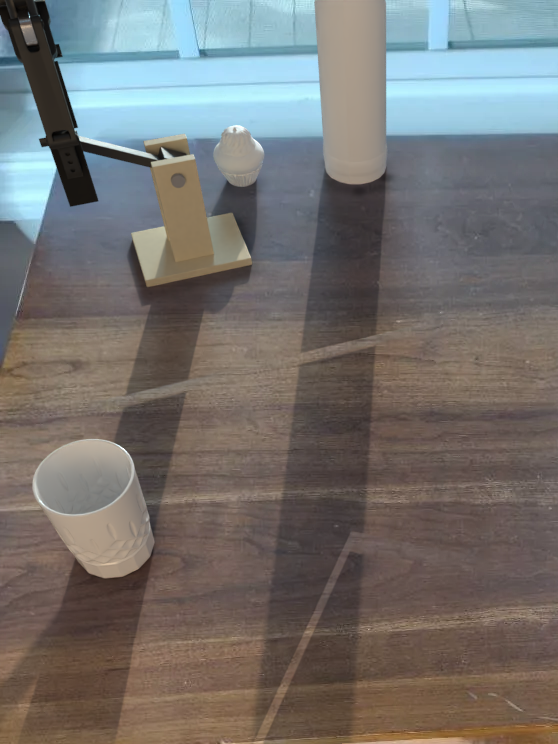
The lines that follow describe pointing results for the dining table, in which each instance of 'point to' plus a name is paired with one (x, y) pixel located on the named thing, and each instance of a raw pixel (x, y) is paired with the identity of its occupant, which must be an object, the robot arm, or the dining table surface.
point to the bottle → (352, 87)
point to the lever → (126, 152)
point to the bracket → (185, 224)
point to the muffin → (238, 156)
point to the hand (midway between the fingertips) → (73, 164)
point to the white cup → (96, 506)
